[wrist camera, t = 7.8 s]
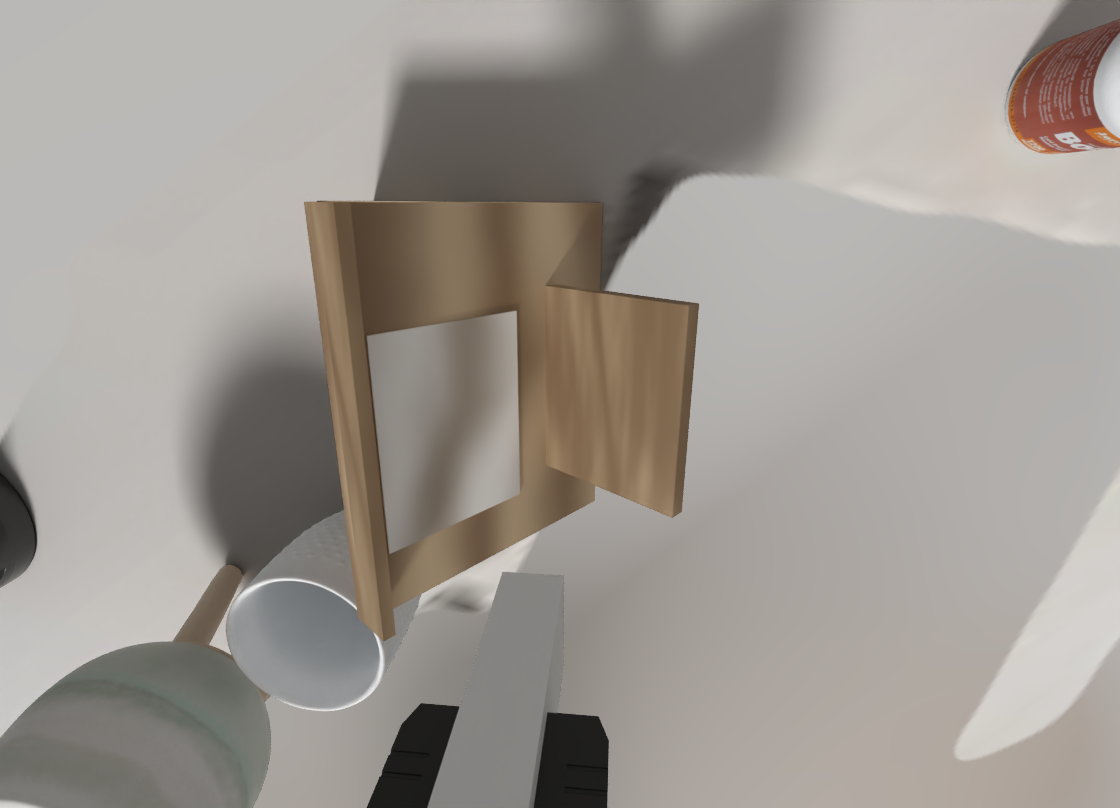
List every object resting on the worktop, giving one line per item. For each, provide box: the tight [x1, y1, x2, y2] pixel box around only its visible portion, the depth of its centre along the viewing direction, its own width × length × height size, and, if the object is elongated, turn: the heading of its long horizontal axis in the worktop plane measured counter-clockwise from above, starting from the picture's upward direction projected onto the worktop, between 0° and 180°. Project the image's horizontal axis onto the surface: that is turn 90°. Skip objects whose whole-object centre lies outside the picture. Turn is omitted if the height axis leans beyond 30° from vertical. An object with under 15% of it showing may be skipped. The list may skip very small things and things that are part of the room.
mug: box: [226, 510, 421, 711], centre depth 45 cm, size 15×11×13 cm
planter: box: [0, 565, 271, 808], centre depth 44 cm, size 16×16×22 cm
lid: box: [304, 202, 699, 642], centre depth 26 cm, size 16×18×9 cm
